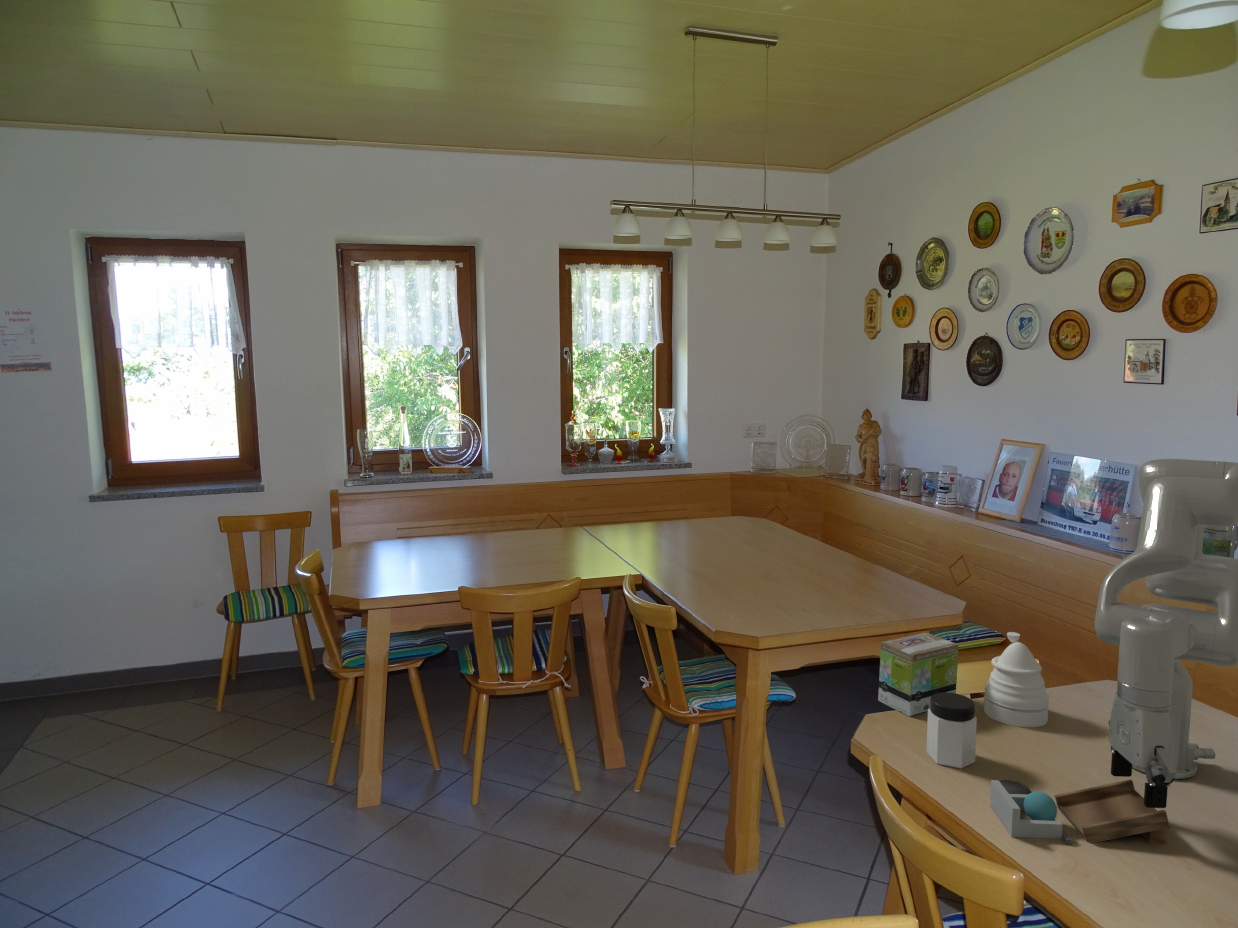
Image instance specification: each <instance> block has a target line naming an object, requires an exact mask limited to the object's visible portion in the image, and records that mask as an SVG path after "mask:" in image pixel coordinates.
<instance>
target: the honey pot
mask: <svg viewBox="0 0 1238 928" xmlns="http://www.w3.org/2000/svg"><path fill="white" fill-rule="evenodd" d="M1006 636H1007V639H1008V640H1009V642H1011V643H1010V644H1009V645H1008V646H1007V647H1006V648H1005V649H1004V650H1003V652H1002V653H1001V654H1000V655H998V656H995V657H993V658H992V659H991V665H992V667H993V670H992V671H991V672H990V675H989V677H988V678H989V679H988V681H987V683H986V684H985V687H984V696H983V711H984V713H985V715H986V716H988V717H989V718H991V719H992V720H995V721H997V722H999V723H1002V724H1005V725H1009V726H1015V727H1022V728H1037V727H1041V726H1045V725H1046V724H1047V723H1049V722H1048V721H1049V706H1050V705H1049V703H1050V701H1049V700H1050V696H1049V694H1048V693H1047V688H1046V686H1045V680H1044V679H1043V677H1042V674H1041V672H1042V670H1043V667H1042V666H1041V664H1039V663H1038V662H1037V661H1036V659H1035V657H1034V655H1033V654H1032V651H1030V649H1029V647H1028V646H1027V645H1026V644H1024V643H1022V642H1020V641H1019V639H1020V636H1021V634H1020V633H1018V632H1013V631H1008V632H1007V633H1006Z"/></svg>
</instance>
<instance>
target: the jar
mask: <svg viewBox="0 0 1238 928" xmlns="http://www.w3.org/2000/svg"><path fill="white" fill-rule="evenodd" d="M975 704H976V703H975V702H974V701H973V699H971V698H970V697H968V696H966V695H964V694H961V693H960V694H959V693H957V692H956V693H947V692H943V693H936V694H934V695H932V696H931V699H930V709H928V711H927V722H926V723H927V725H926V726H927V729H926V754H927V755H928V756H929V757H930V758H931V759H932V760H933V761H934V762H935V763H936V764H937V765H942V766H945V767H952V768H956V769H963V768H966V767H967V766H970V765H971V764H973V763H976V751H977V750H976V746H977V743H976V742H977V724H978V723H977V722H978V719H977V718H978V717H977V716H975V713H976V708H975V707H976V706H975Z"/></svg>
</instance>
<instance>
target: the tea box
mask: <svg viewBox="0 0 1238 928" xmlns="http://www.w3.org/2000/svg"><path fill="white" fill-rule="evenodd" d="M880 644H881V645H880V658H879V661H880V662H879V673H878V674H879V675H878V676H879V679H878V680H879V681H878V695H877V697H878V699H877V701H878V702H880V703H882V704H883V705H886V706H888V707H889V708H892V709H893V710H896V711H897V712H900V711H904V712H903V713H902V714H904V715H906V716H908V717H912V716H914V715H918V714H921V713H923V712H928V709H930V699H931V696H932V695H934V694H936V693H943V692H947V693H956V694H957V682H958V681H957V680H958V676H957V675H958V660H959V644H958V643H956V642H952V641H950V640H948V639H944V638H942V637H940V636H937V635H934V634H931V633H928V632H922V633H917V634H913V635H907V636H902V637H899V638H893V639H889V640H885V641H881V643H880Z"/></svg>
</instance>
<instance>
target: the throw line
mask: <svg viewBox="0 0 1238 928" xmlns="http://www.w3.org/2000/svg"><path fill="white" fill-rule="evenodd" d="M1053 821H1057V820H1056V819H1054V820H1053ZM1061 840H1062V841H1063V842H1064V843H1065V845H1072V843H1073V842H1072V841H1073V840H1072V838H1071V837H1070V836H1069V834H1068V833H1067V832H1066V831H1065V830H1064V829H1063V828H1062V839H1061Z"/></svg>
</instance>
